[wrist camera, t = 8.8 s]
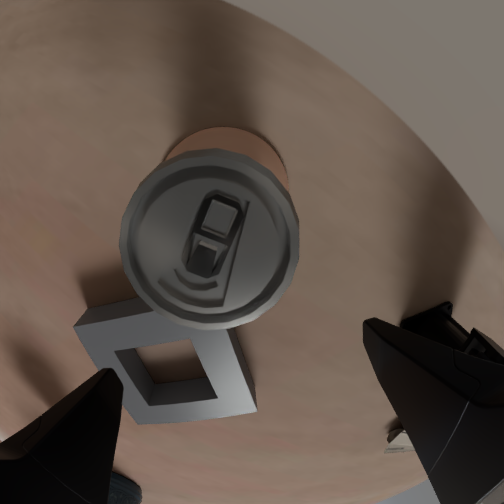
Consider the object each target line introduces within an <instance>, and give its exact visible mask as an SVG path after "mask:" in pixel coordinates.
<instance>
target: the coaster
mask: <svg viewBox="0 0 504 504" xmlns="http://www.w3.org/2000/svg"><path fill="white" fill-rule="evenodd" d="M211 148H219V149H223V150H228V151H232V152H236V153H240V154H244V155H247V156H249V157H250V158H252V159H253V160H255V161H257V162H258V163H260V164H261V165H263V166H264V167H266V168H268V169H269V170H271V171H272V172H273V174H274V175H275V176H276V177H277V179H278V180H279V181H280V182H281V184H282V185H283V186H284V187H285V189H286V190H287V191H288V192H289V185H288V179H287V175H286V171H285V168H284V166H283V164H282V162H281V160H280V158H279V157H278V155H277V154H276V153H275V151H274V150H273V149H272V148H271V147H270V146H269V145H268V144H267V143H266V142H265V141H263V140H262V139H261V138H259V137H258V136H256V135H254V134H252V133H250V132H248V131H245V130H242V129H238V128H233V127H213V128H208V129H204V130H201V131H199V132H196V133H194V134H192V135H190V136H188V137H187V138H185V139H184V140H182V141H181V142H180V143H179V144H178V145H177V146H176V147H174V149H173V150H172V151H171V152H170V153H169V155H168V156H167V158H166V159H165V161H166V160H168V159H170V158H173V157H175V156H177V155H179V154H181V153H183V152H186V151H191V150H201V149H211Z"/></svg>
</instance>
